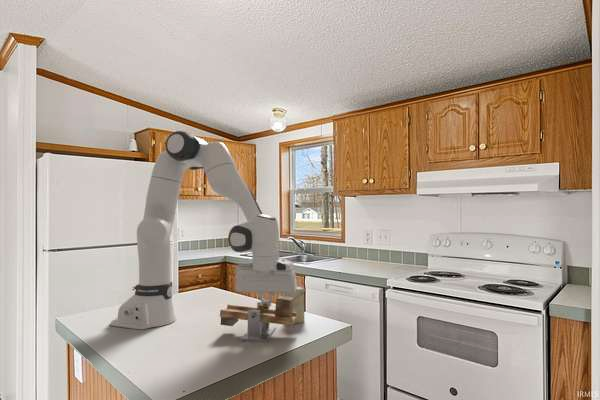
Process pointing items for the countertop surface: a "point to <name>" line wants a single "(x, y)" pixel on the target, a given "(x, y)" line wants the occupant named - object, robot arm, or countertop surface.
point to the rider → (284, 306)
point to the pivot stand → (257, 327)
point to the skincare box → (298, 304)
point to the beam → (241, 312)
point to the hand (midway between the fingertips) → (266, 306)
